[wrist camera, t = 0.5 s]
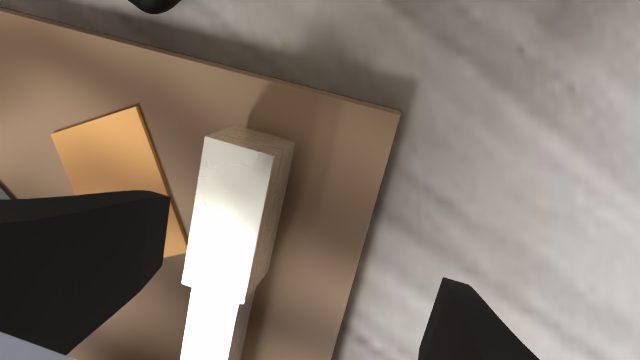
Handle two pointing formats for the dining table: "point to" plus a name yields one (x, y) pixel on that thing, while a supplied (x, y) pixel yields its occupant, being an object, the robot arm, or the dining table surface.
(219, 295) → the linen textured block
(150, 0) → the door handle
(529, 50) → the dining table surface
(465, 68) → the dining table surface
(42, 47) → the board
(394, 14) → the dining table surface
